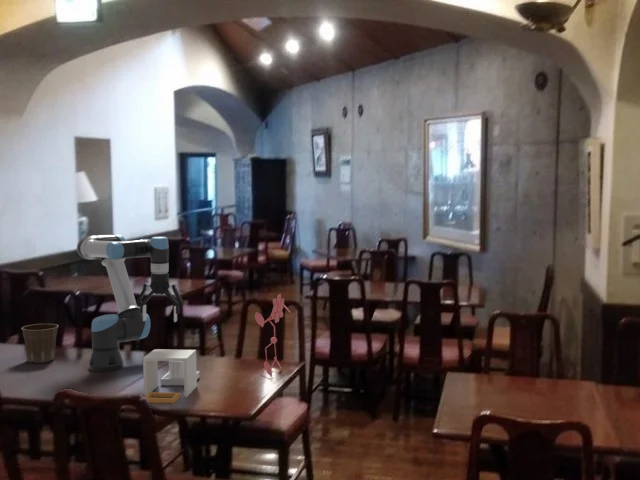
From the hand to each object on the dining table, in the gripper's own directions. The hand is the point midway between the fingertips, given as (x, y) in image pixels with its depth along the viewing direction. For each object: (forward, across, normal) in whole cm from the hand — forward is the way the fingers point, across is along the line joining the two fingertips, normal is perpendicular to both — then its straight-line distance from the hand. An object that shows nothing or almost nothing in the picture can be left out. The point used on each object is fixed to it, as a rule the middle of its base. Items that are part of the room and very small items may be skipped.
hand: (160, 320), depth 309 cm
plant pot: (+26, -62, +22) cm, 71 cm away
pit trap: (+22, +10, -39) cm, 46 cm away
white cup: (+23, +12, -16) cm, 30 cm away
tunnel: (+22, +11, -27) cm, 37 cm away
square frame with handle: (+22, +12, -8) cm, 27 cm away
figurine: (+22, +53, -2) cm, 57 cm away
